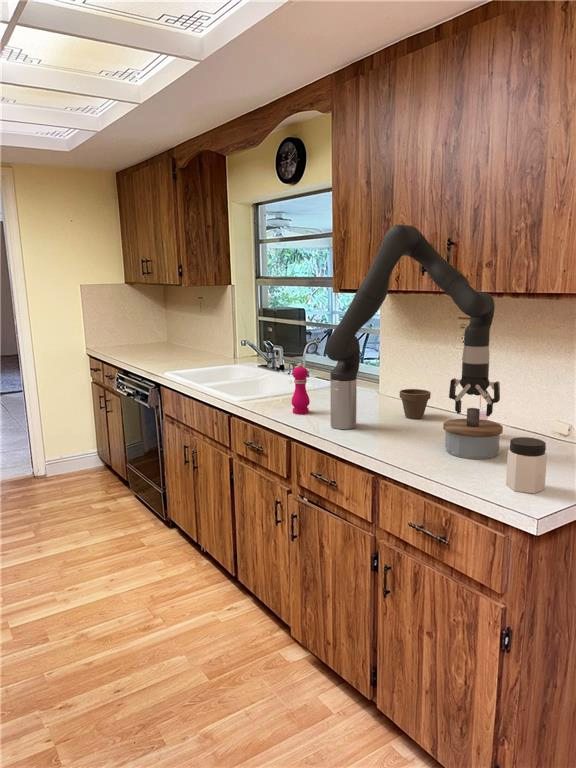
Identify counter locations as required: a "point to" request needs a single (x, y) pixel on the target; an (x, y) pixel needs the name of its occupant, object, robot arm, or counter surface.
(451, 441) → the grey hollow cylinder
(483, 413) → the beverage cup
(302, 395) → the pepper mill
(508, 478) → the jar
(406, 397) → the flower pot
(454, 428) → the walnut lid
